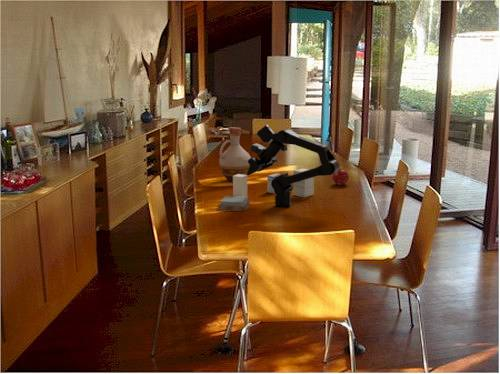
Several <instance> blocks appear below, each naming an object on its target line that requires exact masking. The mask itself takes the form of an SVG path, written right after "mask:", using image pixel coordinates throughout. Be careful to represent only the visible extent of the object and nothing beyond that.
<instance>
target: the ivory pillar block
mask: <svg viewBox="0 0 500 374" xmlns="http://www.w3.org/2000/svg"><path fill="white" fill-rule="evenodd" d="M232 196H245V197H247V200H248V175H243V174H237V175H234V176H233V183H232Z"/></svg>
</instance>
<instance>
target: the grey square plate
mask: <svg viewBox="0 0 500 374" xmlns="http://www.w3.org/2000/svg"><path fill="white" fill-rule="evenodd" d="M250 202H251V201H250V200H248V199H247V201H246V202H245V204H244V205H243V206H221V203H220V204H219V205H218V206H217V209H218V211H231V212H232V211H233V212H245V211H246V210H247V208H248V207H249V206H250V204H251V203H250ZM248 205H249V206H248Z"/></svg>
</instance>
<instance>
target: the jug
mask: <svg viewBox="0 0 500 374" xmlns="http://www.w3.org/2000/svg"><path fill="white" fill-rule="evenodd" d="M241 130H242V128H241V127H235V126H233V127H232V126H230V127H228V131H229V132H228V135H229V138H230V139H226V140H225V141H224V142H223V143H222V144H221V146H220V149H219V161H218V162H219V169H220V171H221V174H222V176H224V178H225V179H226V180H227V181H228V183H232V184H233V176H234V175H237V174H243V175H247V172H248V169H249V167H250V164H249V163H248V160H249V159H250V158H252V157H251V155H250V154H249V152H247V151H246V150H245V149H244V148H243V147H242V146H241V145H240V137H241ZM229 143H230V145H229V146H228V147H227V149H226V150H225V151H224V152H223V150H224V148H225V146H226V145H227V144H229ZM247 176H248V175H247Z"/></svg>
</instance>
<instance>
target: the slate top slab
mask: <svg viewBox="0 0 500 374" xmlns="http://www.w3.org/2000/svg"><path fill="white" fill-rule="evenodd" d="M247 197H248V196H247ZM247 197H245V196H233V195H225V196H224V197H223V198H222V199H221V200H220V204H221V206H243V205H244V204H245V202H246V201H247V200H248V199H247Z"/></svg>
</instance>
